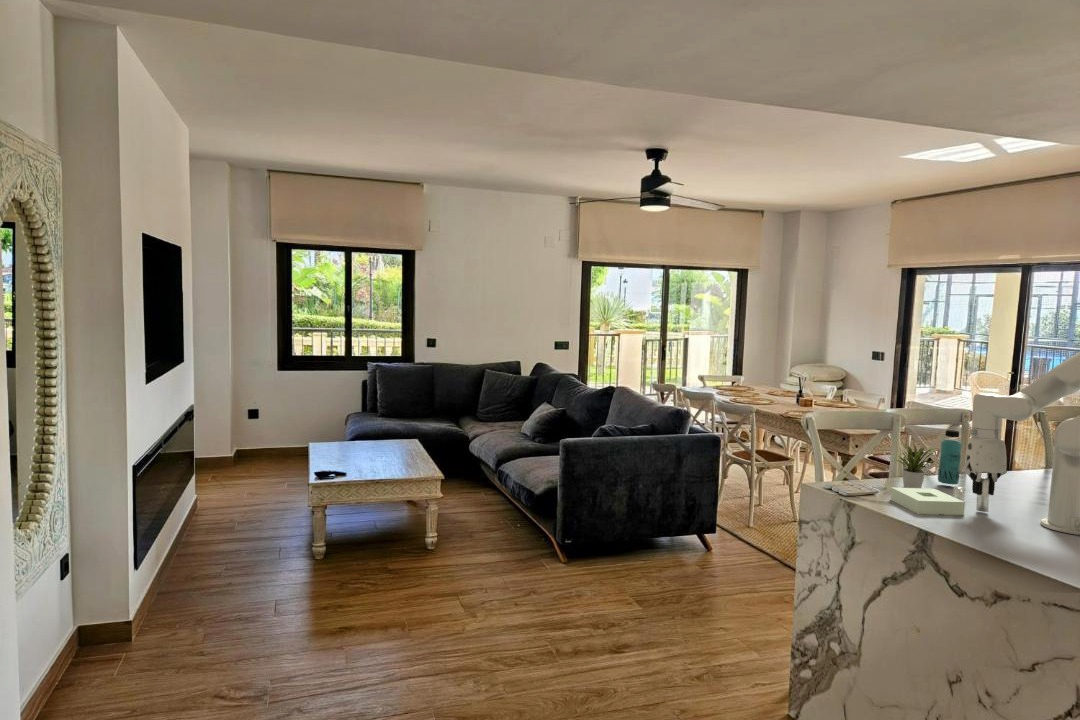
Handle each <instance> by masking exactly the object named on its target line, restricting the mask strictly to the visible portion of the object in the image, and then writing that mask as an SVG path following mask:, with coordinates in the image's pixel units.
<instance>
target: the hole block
mask: <svg viewBox="0 0 1080 720" xmlns="http://www.w3.org/2000/svg"><path fill="white" fill-rule="evenodd" d="M890 500H891V501H892V502H894V503H896V504H898V505H900V506H902V507H904V508H906V509H907V510H909V511H911V512H913V513H915V514H917V515H939V514H944V515H946V516H964V515H965V506H966V502H965V500H964V501H961V500H959V499H957V498H954V497H953V495H949V494H947V493H945V492H943V491H940V490H938V489H936V488H927V487H926V488H922V487H921V488H904V487H891V488H890ZM944 515H943V516H944Z"/></svg>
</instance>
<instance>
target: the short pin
mask: <svg viewBox="0 0 1080 720" xmlns="http://www.w3.org/2000/svg"><path fill="white" fill-rule="evenodd" d="M965 490H966V487H964V486H963V487H962V486H955V485H954V486H953V491H952V497H954V498H957V499H959V500H961V501H964V502H965V492H966V491H965Z"/></svg>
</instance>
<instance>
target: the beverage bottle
mask: <svg viewBox="0 0 1080 720" xmlns="http://www.w3.org/2000/svg"><path fill="white" fill-rule="evenodd" d="M944 435H945V437H949V438H960V431H959V430H954V429H947V430H945V434H944ZM949 438H945V439H943V440H942V441H940V453H939V461H938V462H939V463H938V468H937V469H938V471H937V481H938V483H942V484H946V485H954V486H955V485H959V482H960V473H961V469H960V468H961V459H962V457H961V456H962V446H963V444H962V443H961V441H959V440H958V439H949Z"/></svg>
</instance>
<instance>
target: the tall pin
mask: <svg viewBox="0 0 1080 720" xmlns="http://www.w3.org/2000/svg"><path fill="white" fill-rule="evenodd" d="M980 482H982V495H977V494H976V507H975V508H976V509H975V510H976V511H979V512H984V513H988V512H989V500H990V499H989V498H990V495H989V486H990V478H987V476H986V477H985V476H981V481H980Z"/></svg>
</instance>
